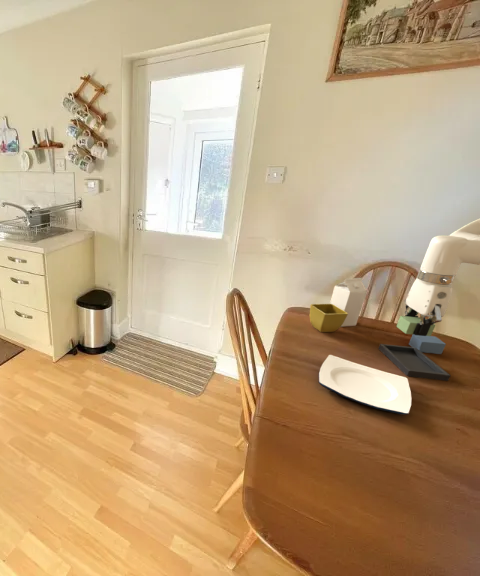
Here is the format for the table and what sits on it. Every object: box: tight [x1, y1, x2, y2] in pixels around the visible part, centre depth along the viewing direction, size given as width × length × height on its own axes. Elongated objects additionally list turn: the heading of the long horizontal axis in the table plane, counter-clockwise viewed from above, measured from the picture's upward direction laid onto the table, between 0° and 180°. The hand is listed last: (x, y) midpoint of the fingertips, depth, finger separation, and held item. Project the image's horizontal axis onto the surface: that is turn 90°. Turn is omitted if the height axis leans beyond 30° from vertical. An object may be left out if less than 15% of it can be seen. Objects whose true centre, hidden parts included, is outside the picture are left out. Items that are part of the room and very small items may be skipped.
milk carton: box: [329, 277, 368, 328], centre depth 123 cm, size 7×7×19 cm
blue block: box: [408, 334, 447, 355], centre depth 107 cm, size 6×5×4 cm
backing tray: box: [378, 343, 451, 382], centre depth 100 cm, size 10×16×2 cm, turn 165°
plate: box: [318, 354, 412, 416], centre depth 90 cm, size 20×20×3 cm
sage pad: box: [395, 315, 436, 336], centre depth 99 cm, size 6×5×4 cm
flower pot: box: [308, 303, 348, 333], centre depth 120 cm, size 9×9×9 cm
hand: (413, 330), depth 100 cm, fingers closed on sage pad, 5 cm apart
